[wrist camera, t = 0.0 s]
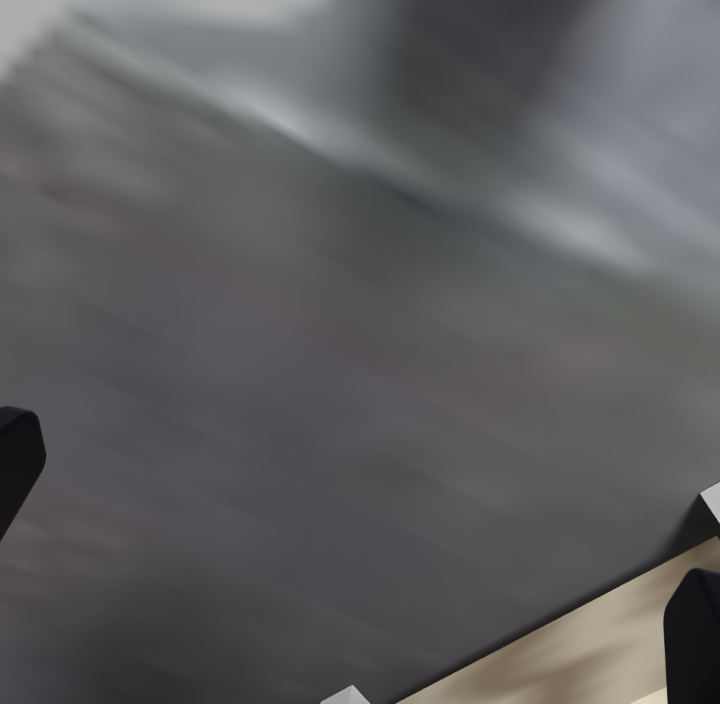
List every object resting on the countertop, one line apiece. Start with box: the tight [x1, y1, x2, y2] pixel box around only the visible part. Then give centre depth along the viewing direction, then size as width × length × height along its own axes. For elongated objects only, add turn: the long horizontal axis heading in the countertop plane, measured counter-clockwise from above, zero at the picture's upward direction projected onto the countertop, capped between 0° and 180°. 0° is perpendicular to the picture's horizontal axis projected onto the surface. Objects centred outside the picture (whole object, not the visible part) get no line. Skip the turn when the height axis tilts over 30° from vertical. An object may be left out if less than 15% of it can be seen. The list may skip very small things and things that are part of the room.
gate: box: [396, 536, 720, 704], centre depth 23 cm, size 16×1×5 cm, turn 131°
